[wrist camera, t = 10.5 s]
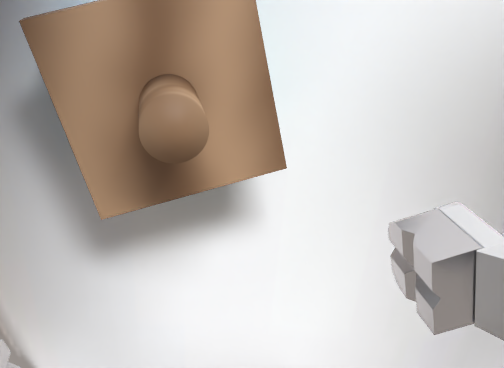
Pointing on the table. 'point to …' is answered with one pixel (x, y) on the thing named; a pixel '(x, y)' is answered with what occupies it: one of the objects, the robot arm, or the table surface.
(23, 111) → the table surface
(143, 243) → the table surface
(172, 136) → the lid
